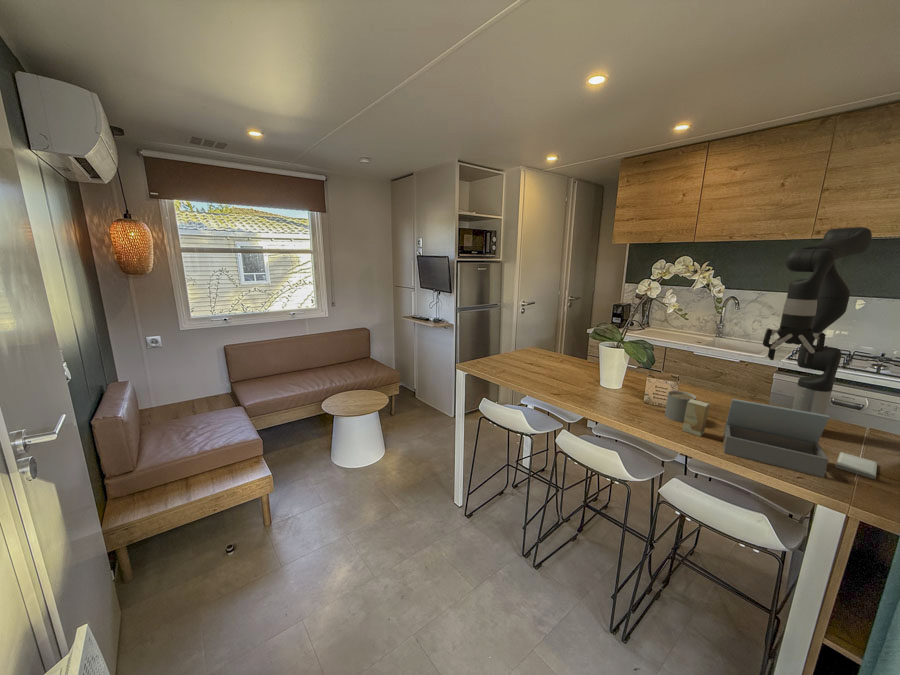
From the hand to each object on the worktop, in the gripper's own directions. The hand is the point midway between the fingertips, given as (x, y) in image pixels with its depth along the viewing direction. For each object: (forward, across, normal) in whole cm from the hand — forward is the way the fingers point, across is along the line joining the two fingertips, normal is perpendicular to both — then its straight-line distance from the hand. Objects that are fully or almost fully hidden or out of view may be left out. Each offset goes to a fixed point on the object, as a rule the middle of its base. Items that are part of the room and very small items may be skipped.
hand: (788, 361), depth 117 cm
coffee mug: (+32, +27, -12) cm, 44 cm away
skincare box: (+32, +22, +2) cm, 39 cm away
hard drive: (+32, -21, -1) cm, 38 cm away
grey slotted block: (+31, +2, +8) cm, 32 cm away
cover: (+20, +1, +4) cm, 20 cm away
